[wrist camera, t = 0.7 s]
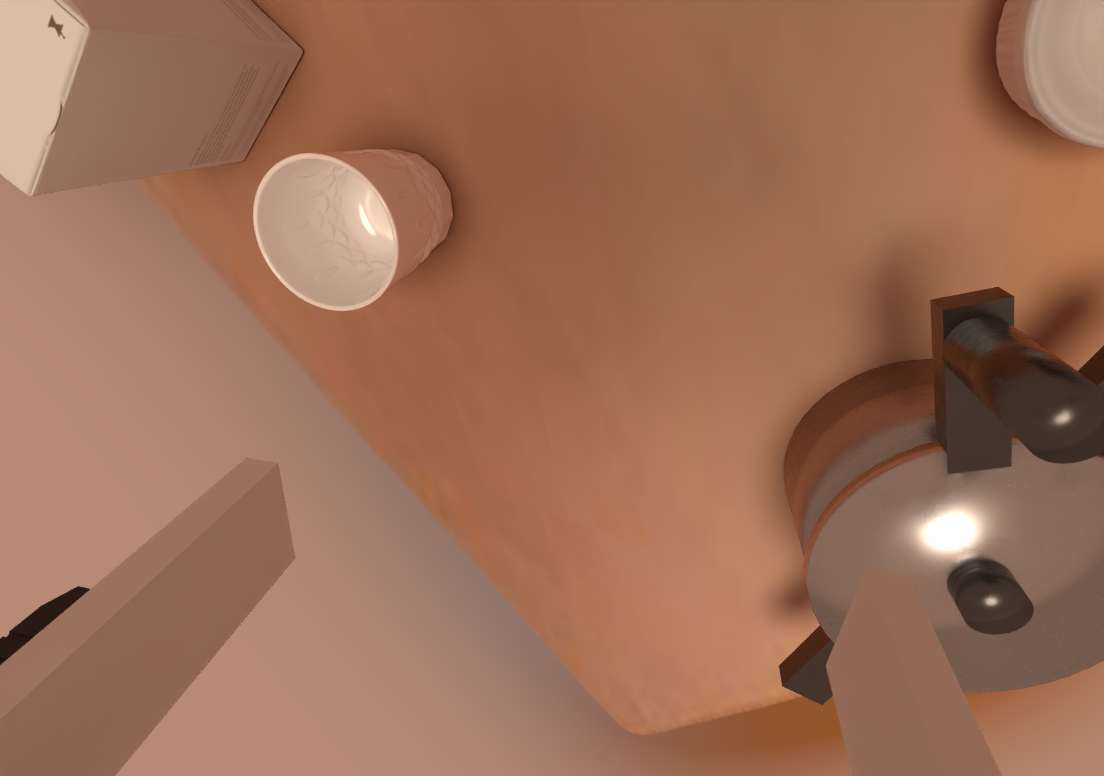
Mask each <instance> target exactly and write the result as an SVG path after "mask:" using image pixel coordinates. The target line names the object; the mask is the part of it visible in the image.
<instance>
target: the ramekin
mask: <svg viewBox="0 0 1104 776" xmlns="http://www.w3.org/2000/svg"><path fill="white" fill-rule="evenodd" d="M996 42H997V47H996V57H997V67H998V70H999V76H1000V79H1001V80H1002V82H1003V85H1004V88H1005V90H1006V91H1007V92H1008V93H1009V95H1010V97H1011V99H1012V100H1013V101H1015V102H1016V103H1017V104H1018V106H1019V107H1020V108H1021V109H1022V110H1024V111H1026V112H1027V113H1028V114H1029V115H1030V116H1032V117H1034V118H1036V119H1038V120H1039V121H1041V122H1042V123H1043V124H1044V125H1045V126H1046V127H1048V128H1049V129H1050V130H1052V131H1053V132H1055V133H1056V134H1058V135H1060V136H1062V137H1064V138H1066V139H1068V140H1070V141H1072V142H1075V143H1079V144H1083V145H1086V146H1091V147H1098V148H1104V0H1007V1H1006V3H1005V5H1004V7H1003V13H1002V16H1001V19H1000V21H999V29H998V34H997V38H996Z"/></svg>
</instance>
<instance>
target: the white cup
mask: <svg viewBox="0 0 1104 776" xmlns="http://www.w3.org/2000/svg"><path fill="white" fill-rule="evenodd" d="M452 219H453V210H452V201H451V192H450V190H449V188H448V187H447V185H446V183H445V181H444V179H443V177H442V176H441V174H440V172H439V170H438V169H437V168H435V167H434V166H433V165H432V164H430V163H429V162H428V161H426V160H425V159H424V158H423V157H421V156H420V155H419V154H415V153H411V152H406V151H402V150H397V149H390V150H379V149H367V150H345V151H332V152H318V153H304V154H297V155H293V156H290V157H288V158H286V159H284V160H282V161H280V162H278V163H277V164H276V165H274V166H273V167H272V168H271V169H270V170H269V171H268V172H267V174H266V175H265V176H264V178H263V179H262V181H261V183H260V185H259V187H258V190H257V193H256V196H255V201H254V208H253V221H254V229H255V234H256V238H257V242H258V245H259V247H260V250H261V252H262V254H263V257H264V259H265V260H266V262H267V264H268V265H269V267H270V269H271V270H272V271H273V273H274V274H275V275H276V277H277V278H278V279H279V280H280V281H281V282H282V283H283V284H284V285H285V286H286V287H287V288H288V289H289V290H290V291H292V292H293V293H294V294H295V295H297V296H298V297H300V298H301V299H303V300H305V301H307V302H309V303H311V304H313V305H315V306H318V307H321V308H324V309H329V310H336V311H348V310H354V309H359V308H362V307H364V306H367V305H369V304H370V303H372V302H374V301H375V300H376V299H378V298H379V297H380V296H381V295H382V294H384V293H385V292H386V291H387V290H389V289H390V288H391V287H392V286H393V285H395V284H396V283H397V282H398V281H400V280H401V279H402V278H403V277H405V276H406V275H407V274H408V273H410V272H411V271H412V270H413V269H415V268H416V267H417V266H418V265H419V264H420V263H421V262H422V261H423V260H425V259H426V258H427V257H428V255H429V254H430V252H432V251H433V250H434V249H435V248H436V247H437V246H438V245H439V244H440V243H441V242H442V241H443V240H444V239H445V238H446V237H447V234H448V231H449V228H450V225H451V222H452Z"/></svg>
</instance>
